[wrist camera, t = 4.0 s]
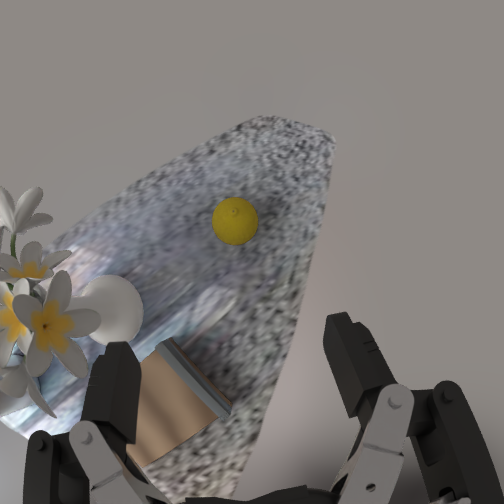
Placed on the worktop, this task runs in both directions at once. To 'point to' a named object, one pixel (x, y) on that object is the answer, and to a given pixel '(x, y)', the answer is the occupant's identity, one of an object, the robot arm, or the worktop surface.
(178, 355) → the stop board
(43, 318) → the flower vase
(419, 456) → the robot arm
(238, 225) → the lemon
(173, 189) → the worktop surface
